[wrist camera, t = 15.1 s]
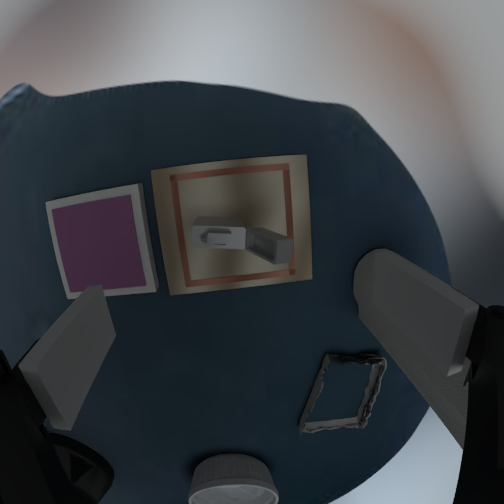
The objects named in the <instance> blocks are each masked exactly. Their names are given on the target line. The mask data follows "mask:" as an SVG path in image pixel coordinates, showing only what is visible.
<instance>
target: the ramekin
mask: <svg viewBox="0 0 504 504" xmlns="http://www.w3.org/2000/svg"><path fill="white" fill-rule="evenodd" d="M278 500H279V496H278V491H277V489H276V488H275V487H274V483H273V480H272V477H271V474H270V471H269V469H268V468H267V466H266V465H265V464H264V463H263V462H261V461H260V460H258V459H256V458H254V457H252V456H249V455H244V454H220V455H216V456H212V457H210V458H207V459H206V460H204V461H203V462H201V463H200V464H199V465H198V466H197V467H196V469H195V471H194V475H193V479H192V485H191V490H190V492H189V494H188V502H189V504H277V503H278Z"/></svg>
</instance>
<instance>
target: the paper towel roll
mask: <svg viewBox="0 0 504 504" xmlns="http://www.w3.org/2000/svg"><path fill="white" fill-rule="evenodd" d="M383 251H389V252H391V253H393V254H395V255H396V256H398V257H400V258H402V259H403V260H405V261H407V262H409V263H411V264H412V265H414V266H416V267H418V266H417V265H415V264H413V263H412V262H410V261H408V260H407V259H405V258H403V257H402V256H400V255H398V254H396V253H395V252H393V251H390V250H388V249H375V250H373V251H371V252H369V253H367V254H366V255H365V256H364V257H363V258H362V259H361V260H360V261H359V262H358V264H357V267H356V269H355V271H354V282H353V294H354V296H355V299H356V301H357V303H358V308H359V315H358V317H359V318H360V319H361V321H362V322H363V323H364V324H365V325H366V326H367V328H368V329H369V330H370V331H371V333H372V334H373V335H374V336H375V337H376V339H377V340H378V341H379V342H380V343H381V345H382V346H383V347H384V348H385V350H386V351H387V352H388V353H389V354H390V356H391V357H392V358H393V359H394V361H395V362H396V363H397V364H398V366H399V367H400V368H401V369H402V371H403V372H404V373H405V374H406V376H407V377H408V378H409V379H410V381H411V382H412V383H413V385H414V386H415V387H416V388H417V390H418V391H419V392H420V393H421V395H422V396H423V397H424V399H425V400H426V401H427V402H428V404H429V405H430V406H431V408H432V409H433V410H434V412H435V413H436V414H437V415H438V417H439V418H440V419H441V421H442V422H443V423H444V425H445V426H446V427H447V429H448V430H449V431H450V433H451V434H452V435H453V437H454V438H455V440H456V441H457V442H458V444H459V445H460V446H461V448H462V449H463V447H464V440H465V431H466V420H467V406H468V382H467V383H466V386H463V384H464V381H465V378H466V376H467V373H468V370H469V367H470V364H471V361H470V360H469V359H468V358H467V357H466V358H465V361H464V364H463V367H462V370H461V371H459V372H457V373H455V374H453V375H450V376H448V377H446V376H445V375H444V374H443V373H442V371H441V370H440V369H439V368H438V367H437V366H436V365H435V364H434V363H433V362H432V361H431V360H430V359H429V358H428V357H427V356H426V355H425V354H424V353H423V352H422V351H421V350H420V349H419V348H418V347H417V346H416V345H415V344H414V343H413V342H412V341H411V340H410V339H409V338H408V337H407V336H406V335H404V334H403V333H402V332H401V331H400V330H399V329H398V328H397V327H396V326H395V325H394V324H393V323H392V322H391V321H390V320H389V319H388V318H387V317H386V316H385V315H384V314H383V313H382V312H381V311H380V310H379V309H377V308H376V307H375V306H374V305H373V304H372V298H373V283H374V263H375V252H383ZM418 268H419V269H421V270H423V269H422V268H420V267H418ZM423 271H424V272H426V273H428V272H427V271H425V270H423ZM428 274H430V273H428ZM430 275H431V276H433V275H432V274H430ZM433 277H435V276H433ZM435 278H436V277H435ZM436 279H438V278H436ZM438 280H440V279H438ZM440 281H441V280H440ZM441 282H443V281H441ZM443 283H444V282H443ZM445 284H446V283H445ZM446 285H448V284H446ZM448 286H449V285H448ZM450 287H451V286H450ZM461 294H462V293H461Z"/></svg>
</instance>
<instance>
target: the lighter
mask: <svg viewBox="0 0 504 504" xmlns="http://www.w3.org/2000/svg"><path fill="white" fill-rule="evenodd" d="M192 246H193V247H194V248H219V249H244V248H245V249H246V250H247V251H249V252H251V253H253V254H254V255H256V256H258V257H260V258H262V259H264V260H266V261H268V262H270V263H272V264H274V265H276V264H283V263H290V262H291V260H292V250H293V240H292V238H289V237H287V236H284V235H282V234H279V233H276V232H274V231H271V230H268V229H265V228H263V227H255V228H247V229H246V228H245V225H244V223H243V220H242V219H241V218H235V217H209V216H198V217H197V218H196V220H195V222H194V224H193V227H192Z"/></svg>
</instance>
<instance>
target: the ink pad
mask: <svg viewBox="0 0 504 504" xmlns="http://www.w3.org/2000/svg"><path fill="white" fill-rule="evenodd" d="M45 203H46V209H47V215H48V220H49V226H50V231H51V236H52V241H53V245H54V250H55V254H56V258H57V263H58V267H59V270H60V274H61V278H62V282H63V285H64V289H65V292H66V296H67V299H76V298H77V297H78V296H79V295H80V294H81V293H82V292H83V291H84V290H85V289H86V288H87V287H88V286H95V285H102V287H103V291H104V295H105V296H115V295H127V294H138V293H149V292H156V291H157V289H158V287H159V281H158V276H157V271H156V266H155V261H154V255H153V250H152V244H151V238H150V232H149V226H148V219H147V212H146V206H145V198H144V191H143V183H138V184H132V185H126V186H120V187H115V188H109V189H104V190H99V191H94V192H89V193H84V194H79V195H74V196H70V197H65V198H61V199H56V200H52V201H49V202H45Z"/></svg>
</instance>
